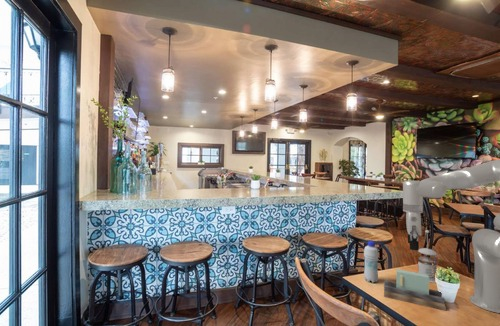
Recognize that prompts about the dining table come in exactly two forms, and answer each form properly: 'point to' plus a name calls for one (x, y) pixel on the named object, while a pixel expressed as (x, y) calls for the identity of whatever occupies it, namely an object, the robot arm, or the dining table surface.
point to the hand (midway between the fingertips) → (413, 246)
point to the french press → (427, 262)
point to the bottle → (371, 262)
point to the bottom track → (414, 296)
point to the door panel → (412, 281)
